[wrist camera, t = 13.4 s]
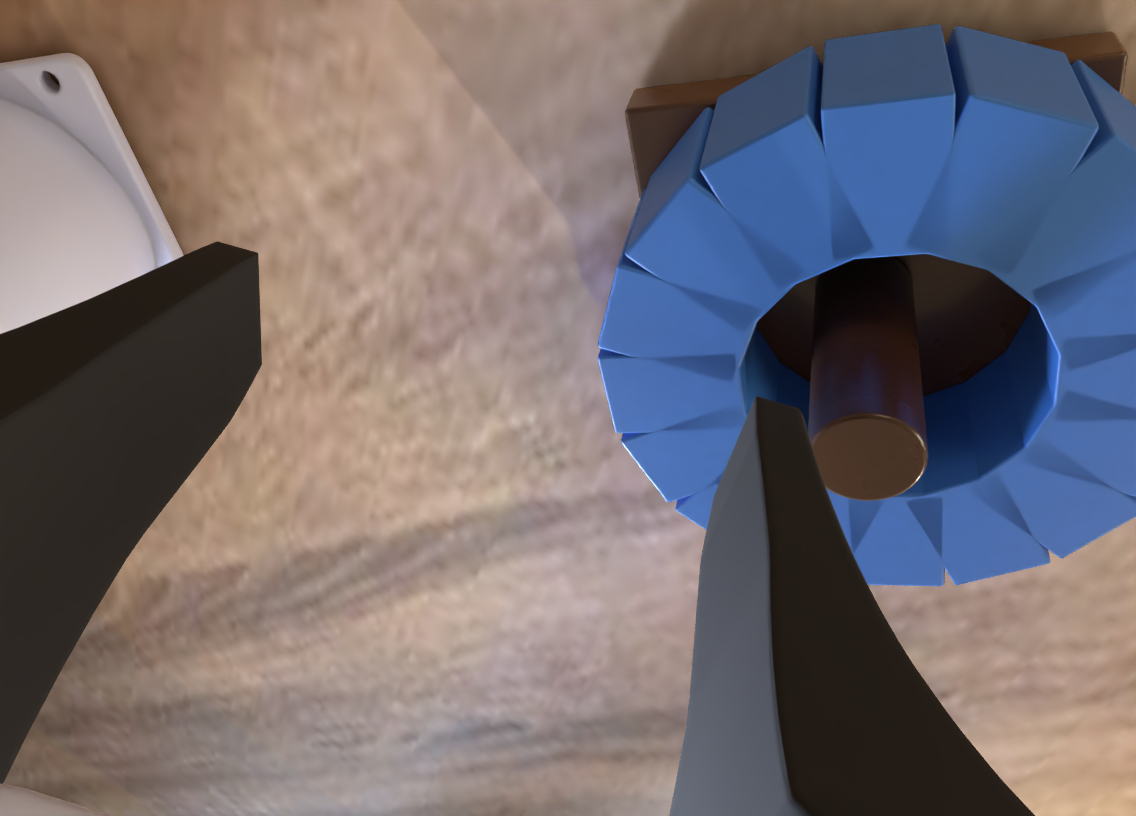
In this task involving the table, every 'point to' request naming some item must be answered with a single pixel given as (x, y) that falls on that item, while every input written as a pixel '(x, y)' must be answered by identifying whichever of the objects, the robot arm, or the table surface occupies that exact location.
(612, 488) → the table surface
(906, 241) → the tape
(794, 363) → the stand
